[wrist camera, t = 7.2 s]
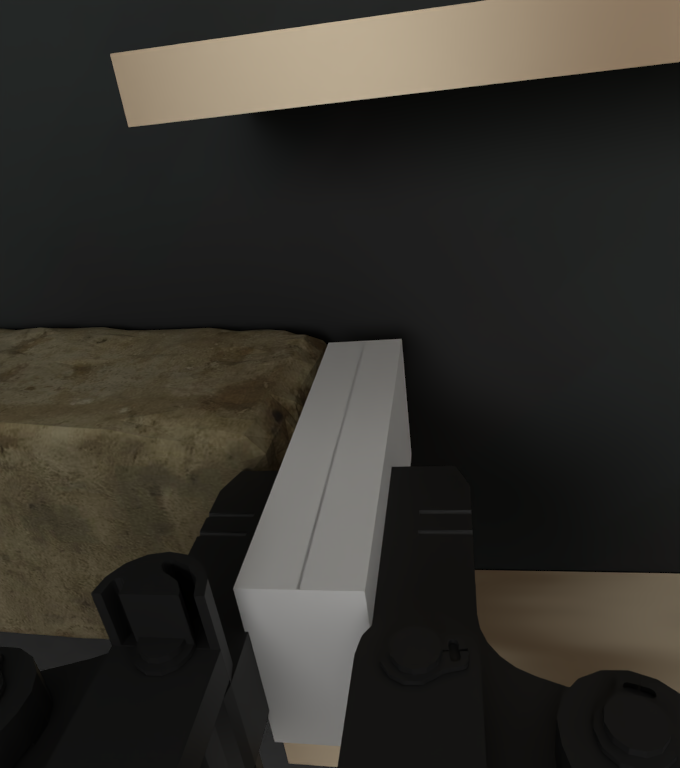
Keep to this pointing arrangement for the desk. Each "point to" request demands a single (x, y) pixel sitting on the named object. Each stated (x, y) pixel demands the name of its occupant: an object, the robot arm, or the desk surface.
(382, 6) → the desk surface
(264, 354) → the stone block
